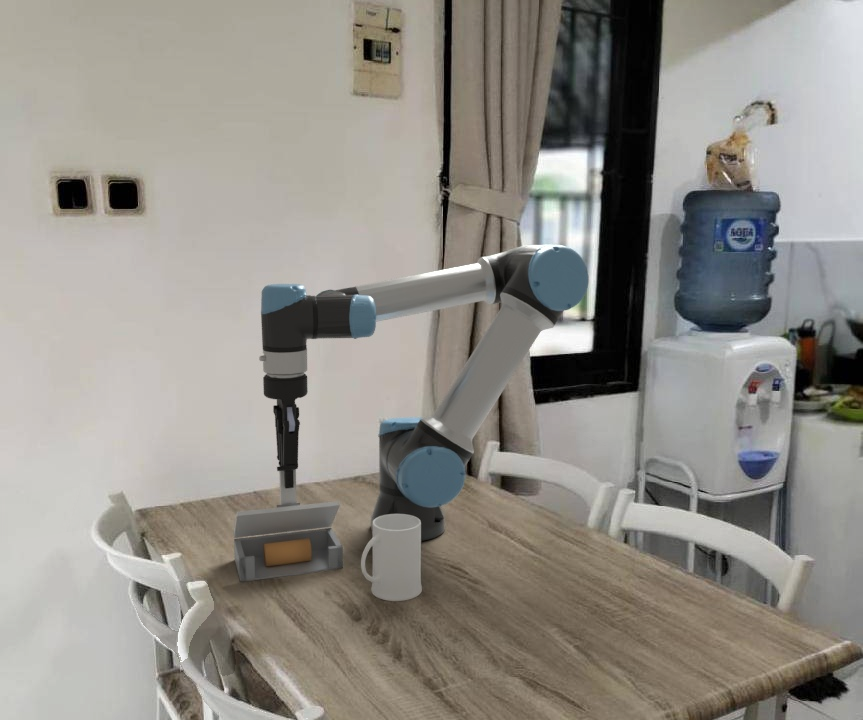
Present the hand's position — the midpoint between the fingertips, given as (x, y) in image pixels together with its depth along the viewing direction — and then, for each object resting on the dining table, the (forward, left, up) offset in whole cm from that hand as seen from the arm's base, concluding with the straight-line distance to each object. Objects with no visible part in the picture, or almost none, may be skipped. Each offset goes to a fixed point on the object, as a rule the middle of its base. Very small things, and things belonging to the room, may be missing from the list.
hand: (288, 503), depth 137 cm
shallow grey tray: (0, -1, -12) cm, 12 cm away
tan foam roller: (0, 0, -9) cm, 9 cm away
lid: (0, -2, -4) cm, 4 cm away
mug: (-14, +16, -12) cm, 25 cm away
